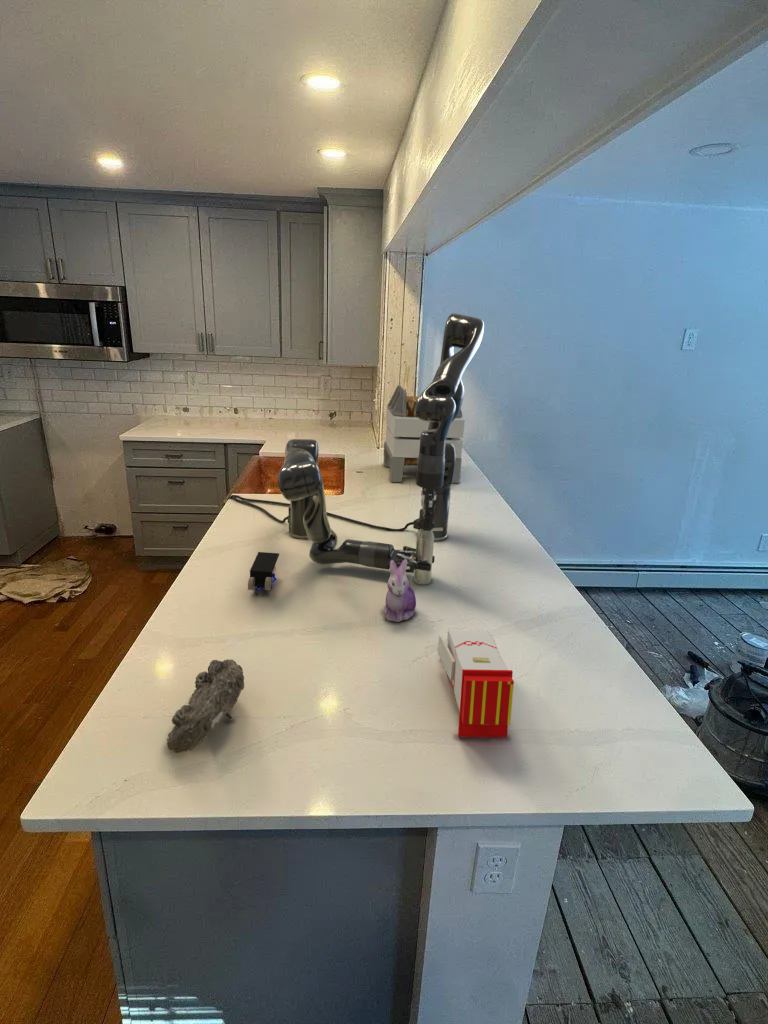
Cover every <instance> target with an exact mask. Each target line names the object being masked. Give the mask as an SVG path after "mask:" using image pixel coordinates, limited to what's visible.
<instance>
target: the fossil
mask: <svg viewBox="0 0 768 1024" xmlns="http://www.w3.org/2000/svg"><path fill="white" fill-rule="evenodd" d="M243 670H244V669H243V667H242V665H240V664H237V662H236V661H235V660H234V659H232V658H231V659H227V658H226V659H224V660H223V661H222V660H217V659H212V660H211V661H210V663H209V665H208V666H207V671H201V672H199V673H198V674H197V675H196V676H195V680H194V684H195V685H194V687H195V689H194V690H193V693H192V694H191V697H190V698H189V700H188V704H184V705H182V706H181V707H180V709H177V710H176V711H175V713H174V715H173V716H172V718H171V723H172V724H173V727H172V730H171V731H170V732H168V734H167V738H166V741H167V742H166V745H167V749H168V750H169V751H173V752H174V753H176V754H178V753H182V752H188V751H189V752H192V751H193V750H195V748H196V747H197V746H199V744H200V743H201V742H203V741H204V740H205V739H206V738H207V737H208V736H209V735H210V734H211V733H212V732H214V730H215V729H217V727H218V726H219V724H220V722H221V721H222V720H223V719H224V718H225V716H226V717H227V719H229V720H233V717H232V715H230V714H229V710H230V709H231V708H234V706H235V704H236V703H237V702H238V699H239V697H240V695H241V693H242V691H243V690H245V689H244V688H245V675H244V671H243Z"/></svg>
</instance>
